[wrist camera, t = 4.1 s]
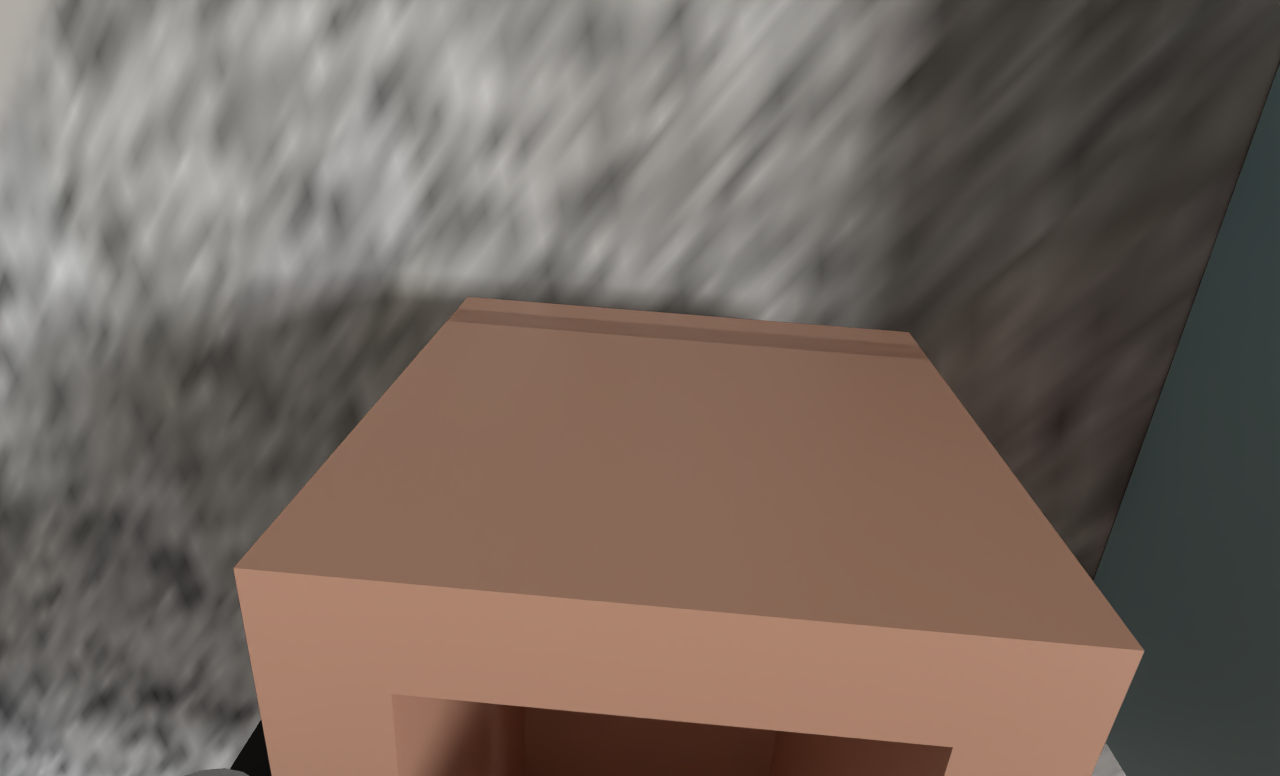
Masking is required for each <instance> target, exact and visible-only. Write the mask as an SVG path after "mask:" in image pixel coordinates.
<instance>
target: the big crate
mask: <svg viewBox="0 0 1280 776" xmlns="http://www.w3.org/2000/svg"><path fill="white" fill-rule="evenodd" d="M1093 582H1094V583H1095V585H1096V586H1097V587H1098V589H1099V590H1100V591H1101V593H1102V594H1103V595H1104V597H1105V598H1106V599H1107V601H1108V602H1109V603H1110V605H1111V606H1112V608H1113V609H1114V610H1115V612H1116V613H1117V614H1118V616H1119V617H1120V618H1121V620H1122V621H1123V622H1124V624H1125V625H1126V626H1127V628H1128V629H1129V631H1130V632H1131V633H1132V635H1133V636H1134V637H1135V639H1136V640H1137V641H1138V643H1139V644H1140V645H1141V647H1142V648H1143V649H1144V653H1143V656H1142V658H1141V660H1140V663H1139V665H1138V667H1137V670H1136V672H1135V674H1134V677H1133V679H1132V681H1131V684H1130V686H1129V688H1128V691H1127V693H1126V695H1125V698H1124V700H1123V702H1122V705H1121V707H1120V709H1119V712H1118V714H1117V716H1116V719H1115V721H1114V723H1113V726H1112V728H1111V730H1110V733H1109V735H1108V737H1107V740H1106V743H1107V745H1108V746H1109V748H1110V750H1111V751H1112V753H1113V755H1114V756H1115V758H1116V759H1117V761H1118V763H1119V764H1120V766H1121V768H1122V769H1123V771H1124V772H1125V774H1126V776H1280V64H1279V67H1278V70H1277V73H1276V75H1275V78H1274V81H1273V84H1272V86H1271V89H1270V92H1269V95H1268V98H1267V100H1266V103H1265V106H1264V109H1263V111H1262V114H1261V117H1260V120H1259V122H1258V125H1257V128H1256V131H1255V134H1254V136H1253V139H1252V142H1251V145H1250V147H1249V150H1248V153H1247V156H1246V159H1245V161H1244V164H1243V167H1242V170H1241V172H1240V175H1239V178H1238V181H1237V184H1236V186H1235V189H1234V192H1233V195H1232V197H1231V200H1230V203H1229V206H1228V209H1227V211H1226V214H1225V217H1224V220H1223V222H1222V225H1221V228H1220V231H1219V234H1218V236H1217V239H1216V242H1215V245H1214V247H1213V250H1212V253H1211V256H1210V258H1209V261H1208V264H1207V267H1206V270H1205V272H1204V275H1203V278H1202V281H1201V283H1200V286H1199V289H1198V292H1197V295H1196V297H1195V300H1194V303H1193V306H1192V308H1191V311H1190V314H1189V317H1188V320H1187V322H1186V325H1185V328H1184V331H1183V333H1182V336H1181V339H1180V342H1179V345H1178V347H1177V350H1176V353H1175V356H1174V358H1173V361H1172V364H1171V367H1170V369H1169V372H1168V375H1167V378H1166V381H1165V383H1164V386H1163V389H1162V392H1161V394H1160V397H1159V400H1158V403H1157V406H1156V408H1155V411H1154V414H1153V417H1152V419H1151V422H1150V425H1149V428H1148V431H1147V433H1146V436H1145V439H1144V442H1143V444H1142V447H1141V450H1140V453H1139V456H1138V458H1137V461H1136V464H1135V467H1134V469H1133V472H1132V475H1131V478H1130V481H1129V483H1128V486H1127V489H1126V492H1125V494H1124V497H1123V500H1122V503H1121V505H1120V508H1119V511H1118V514H1117V517H1116V519H1115V522H1114V525H1113V528H1112V530H1111V533H1110V536H1109V539H1108V542H1107V544H1106V547H1105V550H1104V553H1103V555H1102V558H1101V561H1100V564H1099V567H1098V569H1097V572H1096V575H1095V578H1094V580H1093Z"/></svg>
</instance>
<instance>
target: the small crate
mask: <svg viewBox="0 0 1280 776" xmlns="http://www.w3.org/2000/svg"><path fill="white" fill-rule="evenodd" d="M233 569H234V574H235V580H236V585H237V590H238V596H239V601H240V607H241V612H242V617H243V623H244V628H245V634H246V639H247V644H248V650H249V655H250V661H251V666H252V671H253V677H254V682H255V688H256V693H257V698H258V704H259V709H260V715H261V720H262V725H263V731H264V736H265V742H266V747H267V752H268V758H269V763H270V769H271V774H272V776H1091V775H1092V772H1093V770H1094V768H1095V765H1096V763H1097V761H1098V758H1099V756H1100V754H1101V751H1102V749H1103V747H1104V744H1105V742H1106V740H1107V737H1108V735H1109V733H1110V730H1111V728H1112V726H1113V723H1114V721H1115V719H1116V716H1117V714H1118V712H1119V709H1120V707H1121V705H1122V702H1123V700H1124V698H1125V695H1126V693H1127V691H1128V688H1129V686H1130V684H1131V681H1132V679H1133V677H1134V674H1135V672H1136V670H1137V667H1138V665H1139V663H1140V660H1141V658H1142V656H1143V653H1144V649H1143V648H1142V647H1141V645H1140V644H1139V643H1138V641H1137V640H1136V639H1135V637H1134V636H1133V635H1132V633H1131V632H1130V631H1129V629H1128V628H1127V626H1126V625H1125V624H1124V622H1123V621H1122V620H1121V618H1120V617H1119V616H1118V614H1117V613H1116V612H1115V610H1114V609H1113V608H1112V606H1111V605H1110V603H1109V602H1108V601H1107V599H1106V598H1105V597H1104V595H1103V594H1102V593H1101V591H1100V590H1099V589H1098V587H1097V586H1096V585H1095V583H1094V582H1093V580H1092V579H1091V578H1090V576H1089V575H1088V574H1087V572H1086V571H1085V570H1084V568H1083V567H1082V566H1081V564H1080V563H1079V562H1078V560H1077V559H1076V558H1075V556H1074V555H1073V553H1072V552H1071V551H1070V549H1069V548H1068V547H1067V545H1066V544H1065V543H1064V541H1063V540H1062V539H1061V537H1060V536H1059V535H1058V533H1057V532H1056V530H1055V529H1054V528H1053V526H1052V525H1051V524H1050V522H1049V521H1048V520H1047V518H1046V517H1045V516H1044V514H1043V513H1042V512H1041V510H1040V509H1039V507H1038V506H1037V505H1036V503H1035V502H1034V501H1033V499H1032V498H1031V497H1030V495H1029V494H1028V493H1027V491H1026V490H1025V489H1024V487H1023V486H1022V485H1021V483H1020V482H1019V480H1018V479H1017V478H1016V476H1015V475H1014V474H1013V472H1012V471H1011V470H1010V468H1009V467H1008V466H1007V464H1006V463H1005V462H1004V460H1003V459H1002V457H1001V456H1000V455H999V453H998V452H997V451H996V449H995V448H994V447H993V445H992V444H991V443H990V441H989V440H988V439H987V437H986V436H985V434H984V433H983V432H982V430H981V429H980V428H979V426H978V425H977V424H976V422H975V421H974V420H973V418H972V417H971V416H970V414H969V413H968V411H967V410H966V409H965V407H964V406H963V405H962V403H961V402H960V401H959V399H958V398H957V397H956V395H955V394H954V393H953V391H952V390H951V389H950V387H949V386H948V384H947V383H946V382H945V380H944V379H943V378H942V376H941V375H940V374H939V372H938V371H937V370H936V368H935V367H934V366H933V364H932V363H931V361H930V360H929V359H928V357H927V356H926V355H925V353H924V352H923V351H922V349H921V348H920V347H919V345H918V344H917V343H916V341H915V340H914V338H913V337H912V336H911V334H910V333H909V332H900V331H887V330H875V329H862V328H850V327H837V326H825V325H812V324H800V323H787V322H775V321H762V320H750V319H738V318H725V317H713V316H700V315H688V314H675V313H663V312H650V311H638V310H625V309H613V308H600V307H588V306H575V305H563V304H550V303H538V302H525V301H513V300H500V299H488V298H476V297H467V298H466V299H465V301H464V302H463V303H462V304H461V305H460V306H459V308H458V309H457V310H456V311H455V312H454V313H453V314H452V316H451V317H450V318H449V319H448V320H447V321H446V323H445V324H444V325H443V326H442V327H441V328H440V330H439V331H438V332H437V333H436V334H435V335H434V336H433V338H432V339H431V340H430V341H429V342H428V343H427V345H426V346H425V347H424V348H423V349H422V350H421V351H420V353H419V354H418V355H417V356H416V357H415V358H414V360H413V361H412V362H411V363H410V364H409V365H408V367H407V368H406V369H405V370H404V371H403V372H402V373H401V375H400V376H399V377H398V378H397V379H396V380H395V382H394V383H393V384H392V385H391V386H390V387H389V389H388V390H387V391H386V392H385V393H384V394H383V395H382V397H381V398H380V399H379V400H378V401H377V402H376V404H375V405H374V406H373V407H372V408H371V409H370V410H369V412H368V413H367V414H366V415H365V416H364V417H363V419H362V420H361V421H360V422H359V423H358V424H357V426H356V427H355V428H354V429H353V430H352V431H351V432H350V434H349V435H348V436H347V437H346V438H345V439H344V441H343V442H342V443H341V444H340V445H339V446H338V448H337V449H336V450H335V451H334V452H333V453H332V454H331V456H330V457H329V458H328V459H327V460H326V461H325V463H324V464H323V465H322V466H321V467H320V468H319V469H318V471H317V472H316V473H315V474H314V475H313V476H312V478H311V479H310V480H309V481H308V482H307V483H306V485H305V486H304V487H303V488H302V489H301V490H300V491H299V493H298V494H297V495H296V496H295V497H294V498H293V500H292V501H291V502H290V503H289V504H288V505H287V507H286V508H285V509H284V510H283V511H282V512H281V513H280V515H279V516H278V517H277V518H276V519H275V520H274V522H273V523H272V524H271V525H270V526H269V527H268V529H267V530H266V531H265V532H264V533H263V534H262V535H261V537H260V538H259V539H258V540H257V541H256V542H255V544H254V545H253V546H252V547H251V548H250V549H249V550H248V552H247V553H246V554H245V555H244V556H243V557H242V559H241V560H240V561H239V562H238V563H237V564H236V566H235V567H234V568H233Z"/></svg>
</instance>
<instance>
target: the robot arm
mask: <svg viewBox="0 0 1280 776" xmlns="http://www.w3.org/2000/svg"><path fill="white" fill-rule="evenodd" d="M186 776H272V774H271V769H270V763H269V758H268V752H267V747H266V742H265V736H264V731H263V725H262V720H261V721H260V722H259V724H258V725H257V727H256V729H255V730H254V732H253V733H252V735H251V737H250V738H249V740H248V741H247V743H246V744H245V746H244V748H243V749H242V751H241V752H240V754H239V756H238V757H237V759H236V760H235V762H234V763H233V765H232V767H231V768H230V769H225V768H223V769H211V770H202V771H199V772H196V773H192V774H189V775H186Z"/></svg>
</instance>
